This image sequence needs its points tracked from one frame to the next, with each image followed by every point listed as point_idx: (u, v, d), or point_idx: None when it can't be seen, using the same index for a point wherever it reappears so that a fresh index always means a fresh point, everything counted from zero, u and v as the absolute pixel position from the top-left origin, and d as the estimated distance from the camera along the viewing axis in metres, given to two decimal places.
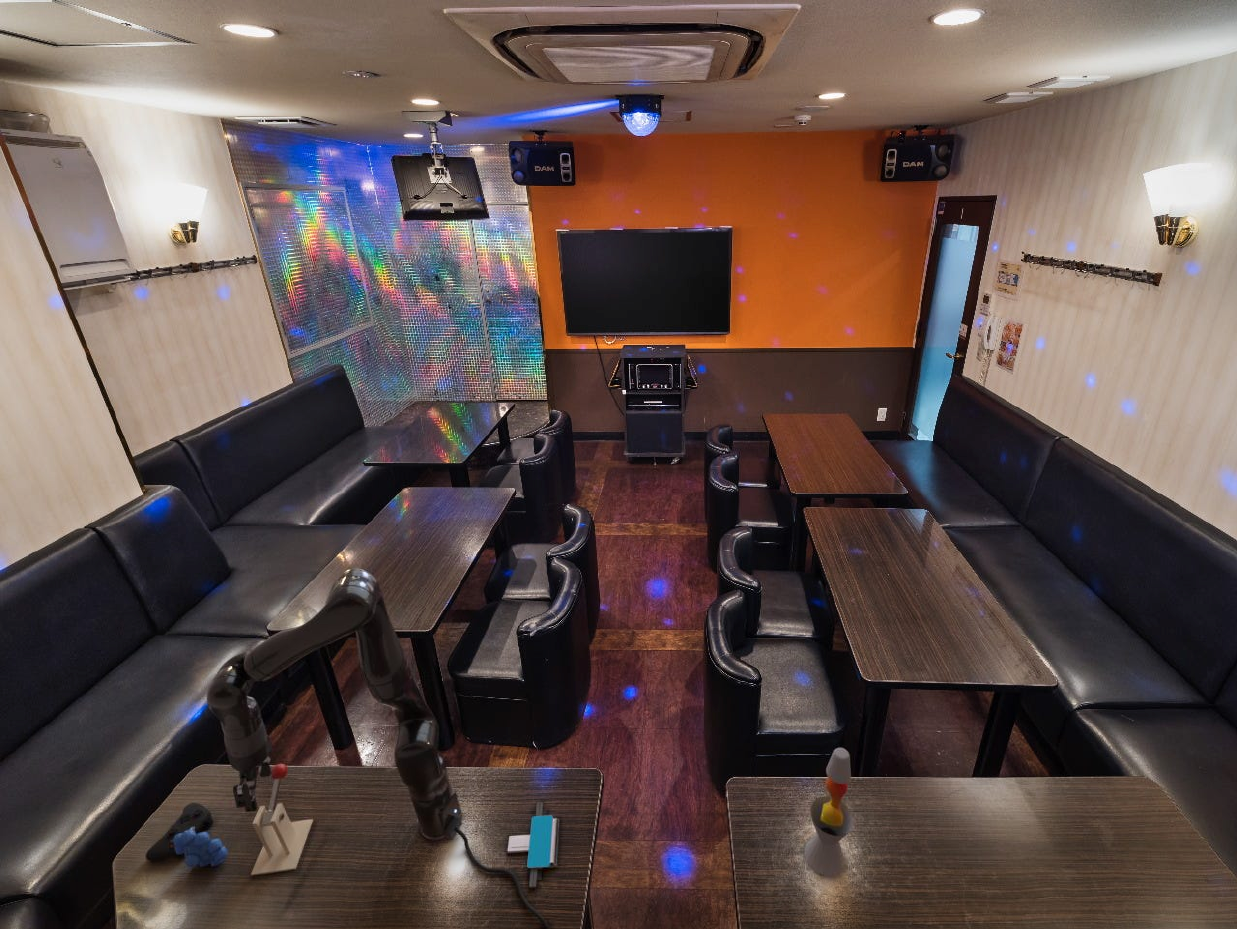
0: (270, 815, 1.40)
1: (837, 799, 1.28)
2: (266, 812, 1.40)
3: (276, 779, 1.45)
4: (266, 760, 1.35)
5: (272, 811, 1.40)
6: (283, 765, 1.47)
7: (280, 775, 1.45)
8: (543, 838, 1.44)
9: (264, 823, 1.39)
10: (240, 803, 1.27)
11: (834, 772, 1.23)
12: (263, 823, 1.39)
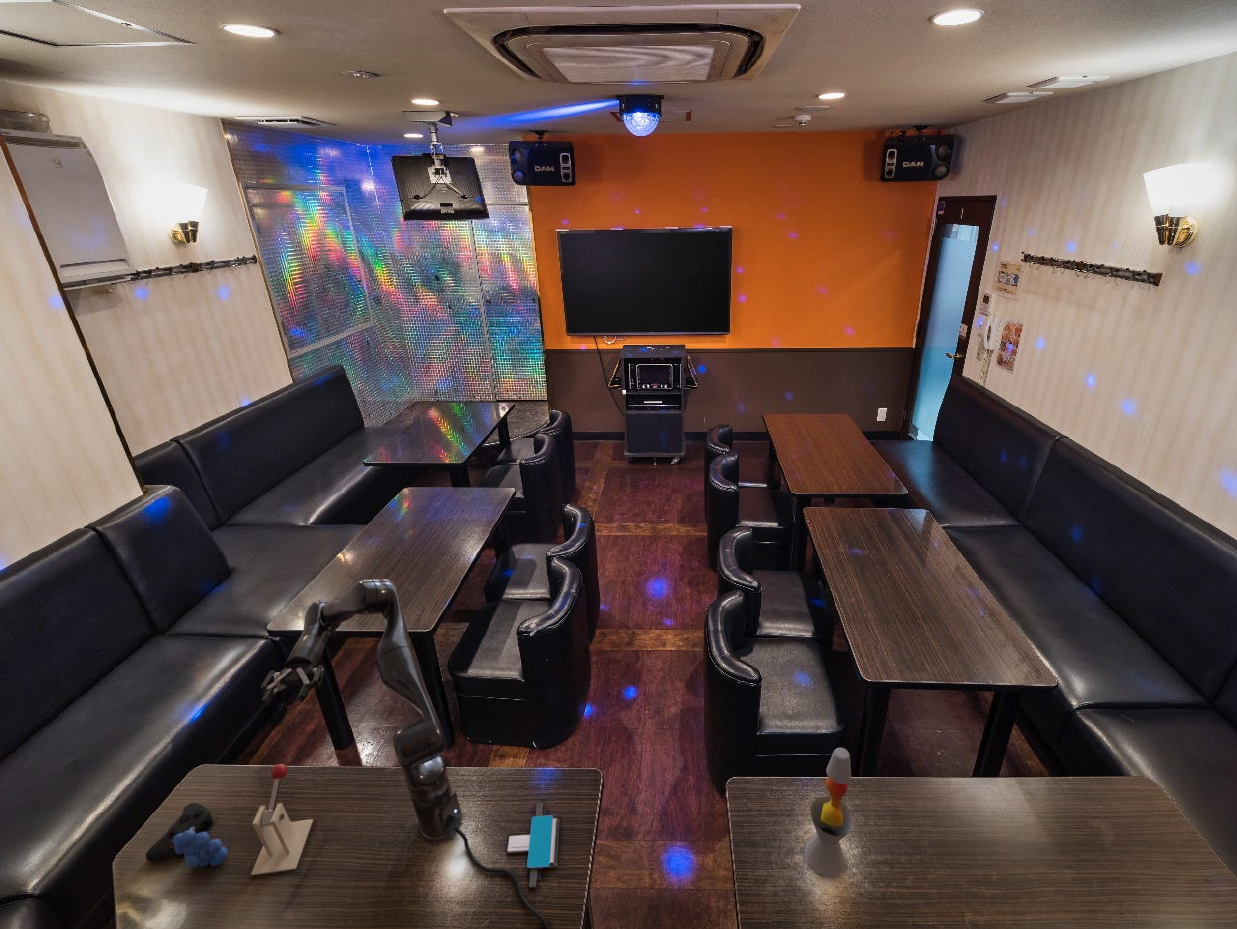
0: (270, 815, 1.40)
1: (837, 799, 1.28)
2: (266, 812, 1.40)
3: (276, 779, 1.45)
4: (301, 674, 1.57)
5: (272, 811, 1.40)
6: (283, 765, 1.47)
7: (280, 775, 1.45)
8: (543, 838, 1.44)
9: (264, 823, 1.39)
10: None
11: (834, 772, 1.23)
12: (263, 823, 1.39)
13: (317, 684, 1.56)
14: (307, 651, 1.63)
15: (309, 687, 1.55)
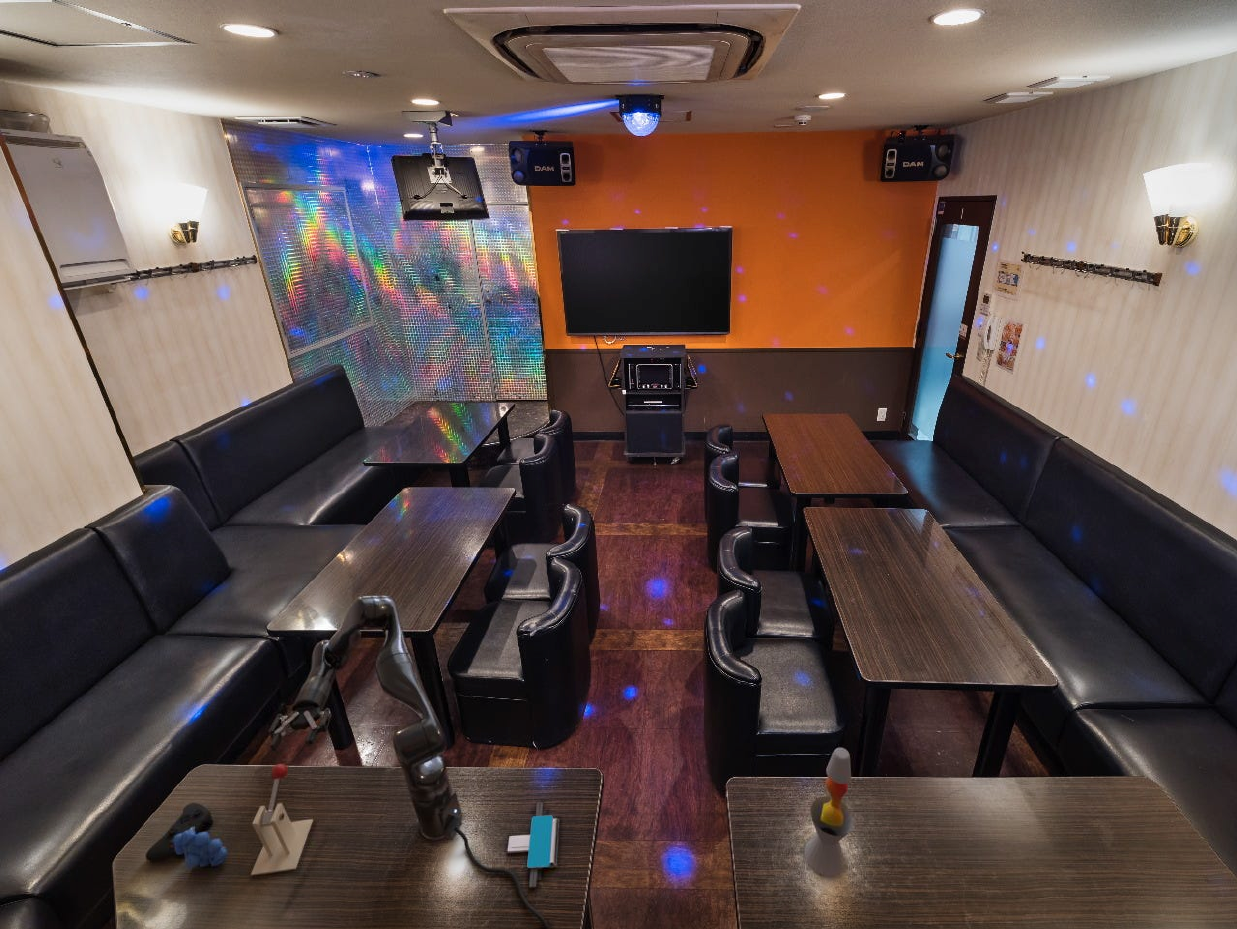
0: (270, 815, 1.40)
1: (837, 799, 1.28)
2: (266, 812, 1.40)
3: (276, 779, 1.45)
4: (308, 718, 1.59)
5: (272, 811, 1.40)
6: (283, 765, 1.47)
7: (280, 775, 1.45)
8: (543, 838, 1.44)
9: (264, 823, 1.39)
10: None
11: (834, 772, 1.23)
12: (263, 823, 1.39)
13: (324, 728, 1.58)
14: (314, 694, 1.64)
15: (316, 731, 1.57)
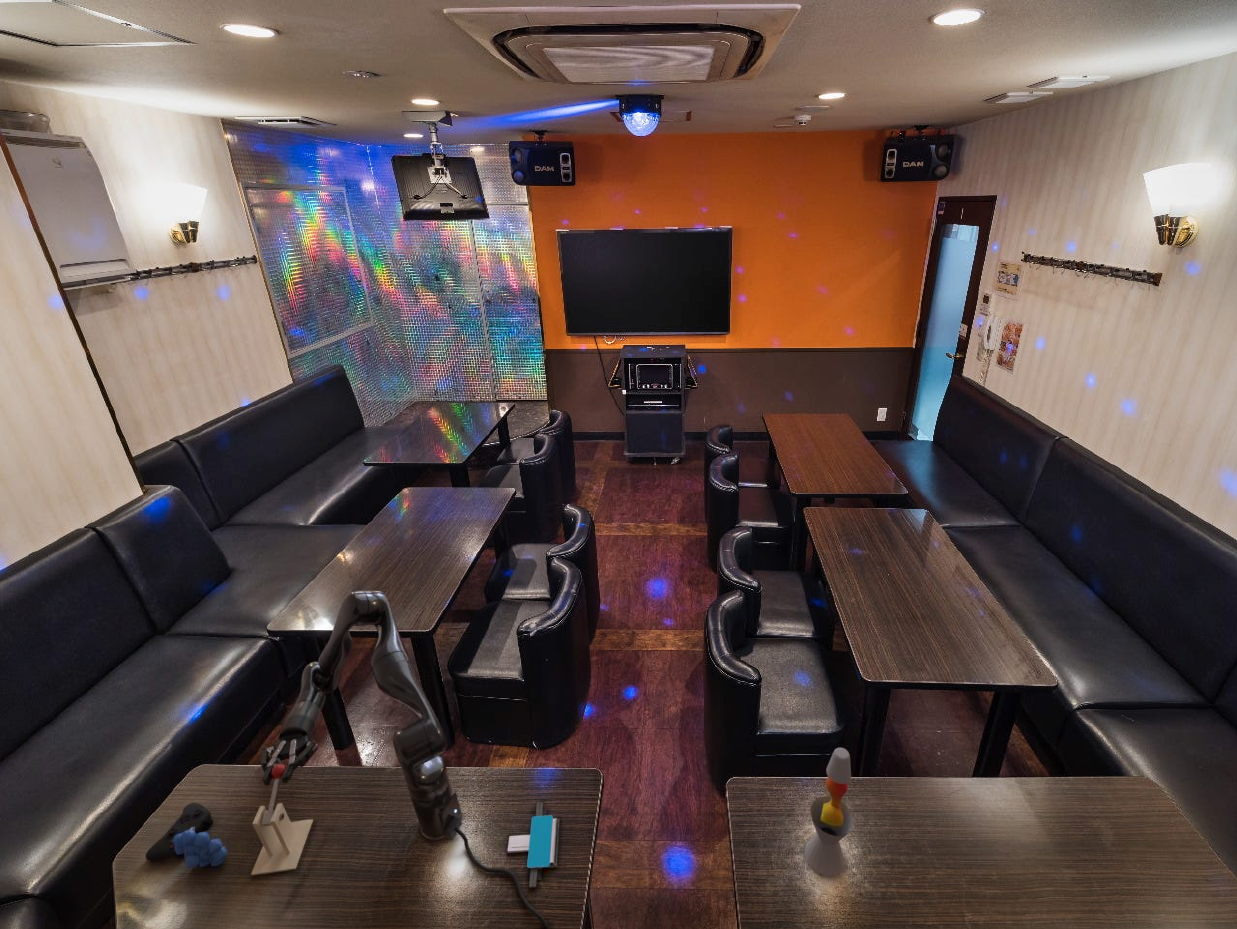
0: (270, 815, 1.40)
1: (837, 799, 1.28)
2: (266, 812, 1.40)
3: (276, 779, 1.45)
4: (291, 749, 1.50)
5: (272, 811, 1.40)
6: (283, 765, 1.47)
7: (280, 775, 1.45)
8: (543, 838, 1.44)
9: (264, 823, 1.39)
10: None
11: (834, 772, 1.23)
12: (263, 823, 1.39)
13: (301, 763, 1.49)
14: (302, 721, 1.56)
15: (293, 766, 1.47)
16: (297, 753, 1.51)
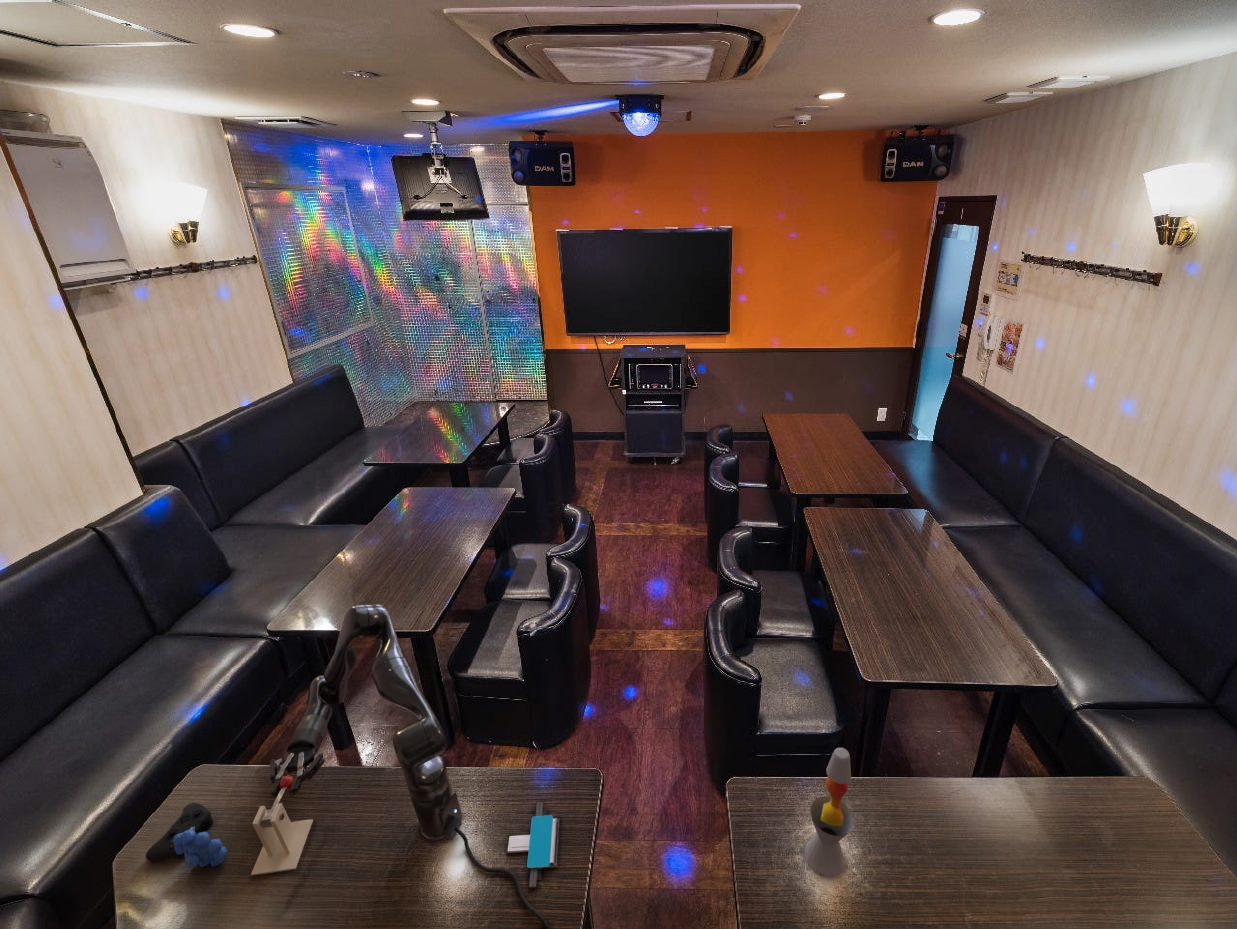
0: (271, 812, 1.40)
1: (837, 799, 1.28)
2: (268, 810, 1.41)
3: (283, 787, 1.48)
4: (299, 762, 1.54)
5: (274, 809, 1.41)
6: (292, 776, 1.51)
7: (288, 783, 1.49)
8: (543, 838, 1.44)
9: (264, 819, 1.39)
10: None
11: (834, 772, 1.23)
12: (263, 819, 1.39)
13: (309, 776, 1.52)
14: (310, 733, 1.60)
15: (301, 779, 1.51)
16: (305, 766, 1.55)
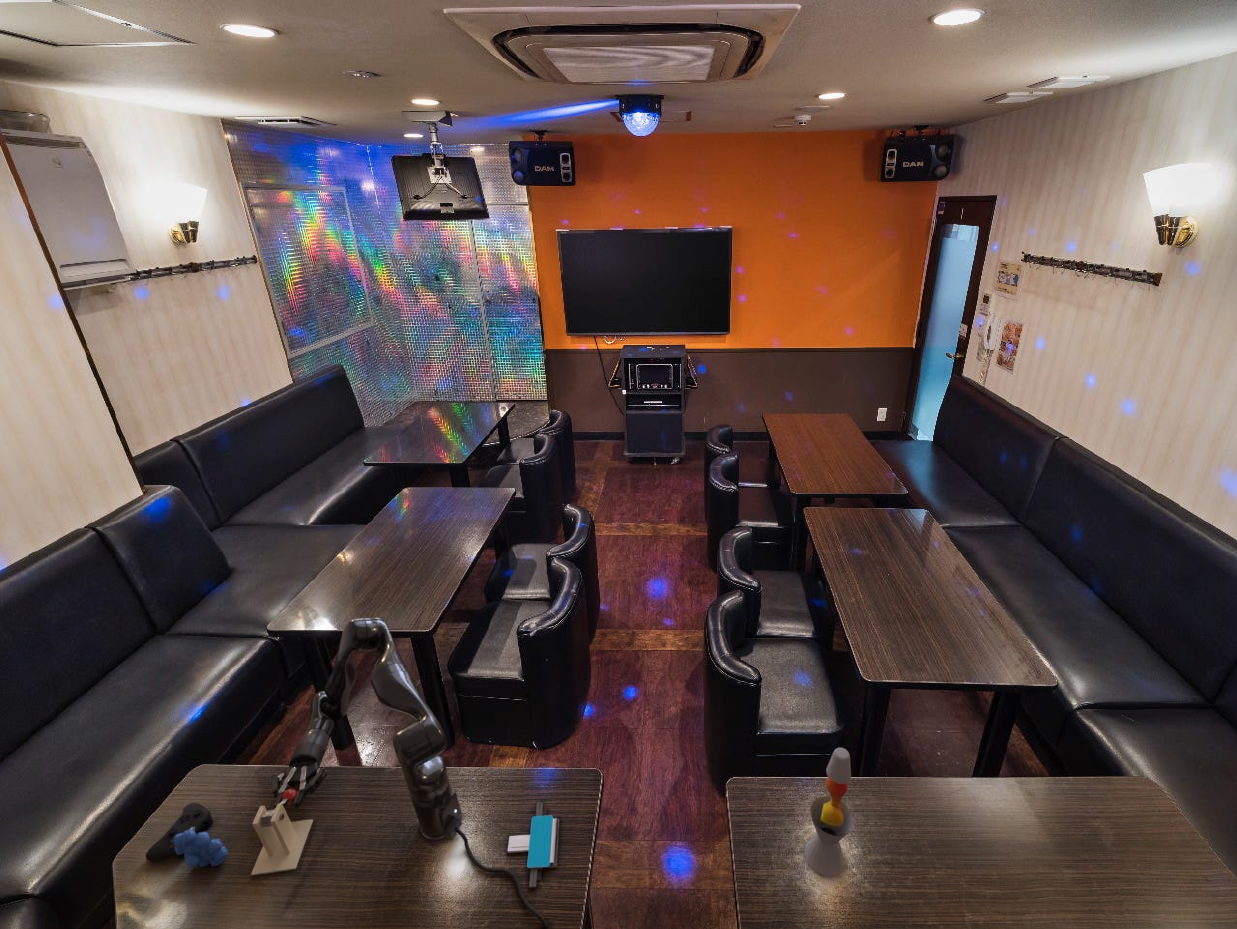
0: (272, 812, 1.41)
1: (837, 799, 1.28)
2: (269, 810, 1.42)
3: (286, 798, 1.49)
4: (302, 776, 1.54)
5: None
6: None
7: (291, 794, 1.49)
8: (543, 838, 1.44)
9: (265, 815, 1.39)
10: None
11: (834, 772, 1.23)
12: (264, 815, 1.39)
13: (311, 789, 1.53)
14: (312, 748, 1.61)
15: (304, 793, 1.51)
16: (307, 779, 1.55)
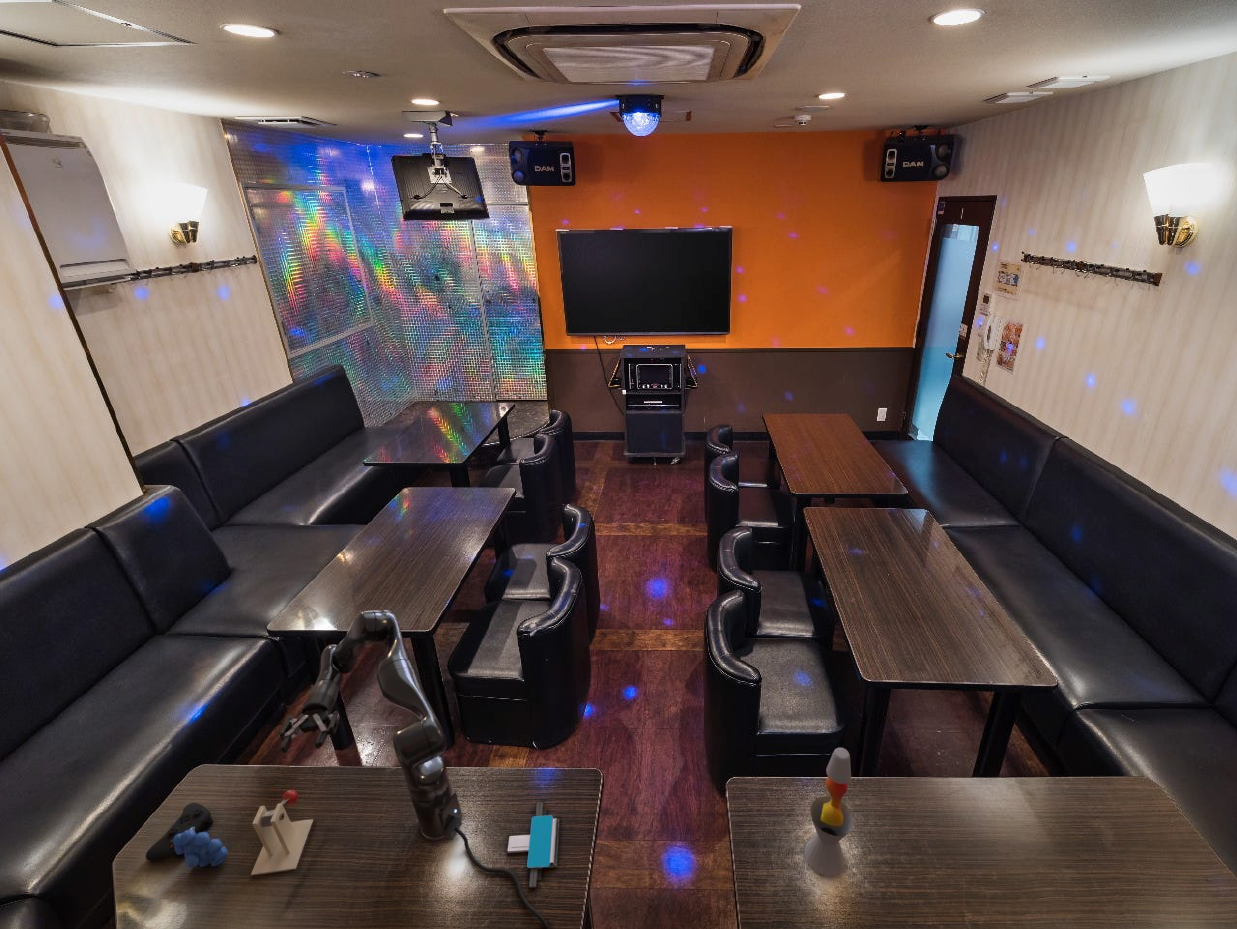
0: (272, 811, 1.41)
1: (837, 799, 1.28)
2: None
3: (286, 798, 1.49)
4: (317, 721, 1.64)
5: None
6: None
7: (291, 795, 1.49)
8: (543, 838, 1.44)
9: (265, 815, 1.39)
10: None
11: (834, 772, 1.23)
12: (264, 815, 1.39)
13: (333, 730, 1.63)
14: (323, 697, 1.69)
15: (325, 734, 1.62)
16: (322, 724, 1.65)
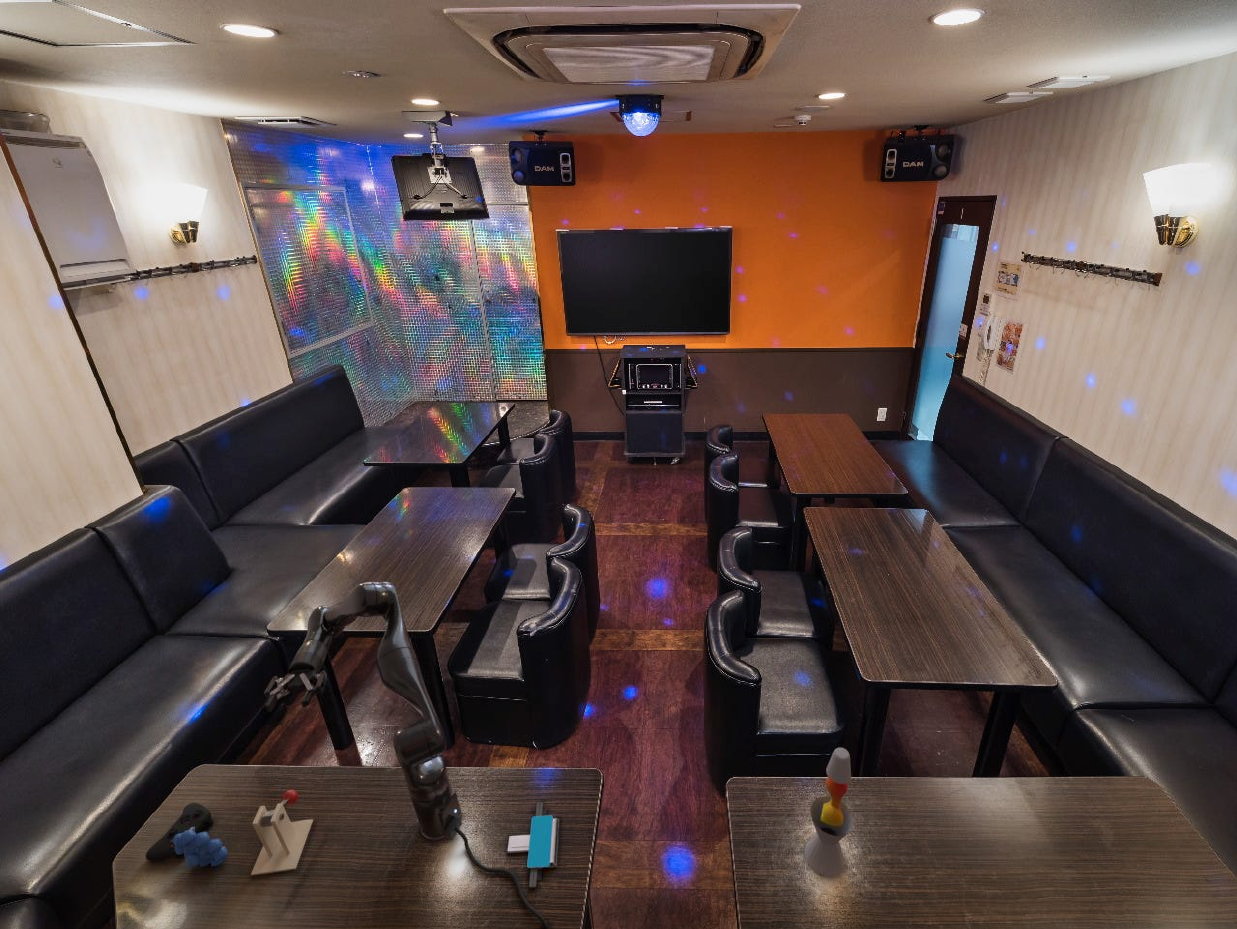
0: (272, 811, 1.41)
1: (837, 799, 1.28)
2: None
3: (286, 798, 1.49)
4: (304, 680, 1.58)
5: None
6: None
7: (291, 795, 1.49)
8: (543, 838, 1.44)
9: (265, 815, 1.39)
10: None
11: (834, 772, 1.23)
12: (264, 815, 1.39)
13: (320, 690, 1.57)
14: (310, 657, 1.64)
15: (312, 693, 1.56)
16: (309, 683, 1.59)
